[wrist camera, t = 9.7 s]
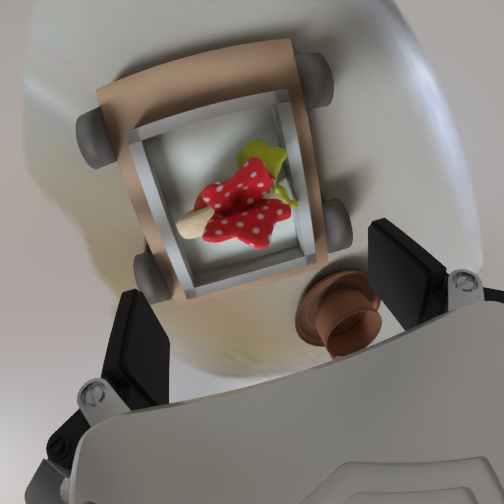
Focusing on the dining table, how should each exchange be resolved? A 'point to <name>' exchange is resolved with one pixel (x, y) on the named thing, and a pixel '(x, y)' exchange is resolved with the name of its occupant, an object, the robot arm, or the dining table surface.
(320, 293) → the cup and saucer
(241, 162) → the bird rattle
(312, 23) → the dining table surface
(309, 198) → the chassis
